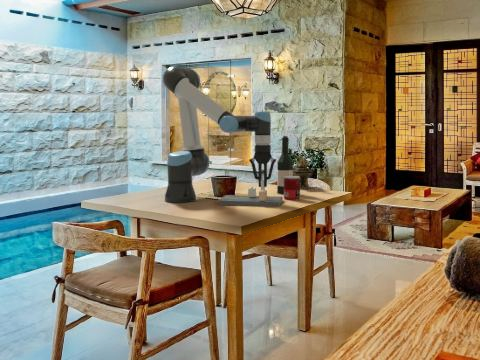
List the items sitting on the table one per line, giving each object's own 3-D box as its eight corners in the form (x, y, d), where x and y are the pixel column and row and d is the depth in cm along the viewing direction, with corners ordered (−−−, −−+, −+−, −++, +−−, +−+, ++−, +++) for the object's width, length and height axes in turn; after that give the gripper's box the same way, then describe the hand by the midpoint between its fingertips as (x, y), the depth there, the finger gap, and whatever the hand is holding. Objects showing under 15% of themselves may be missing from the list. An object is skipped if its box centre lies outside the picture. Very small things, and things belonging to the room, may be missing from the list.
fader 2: (258, 200, 237) (258, 191, 236) (260, 198, 242) (260, 189, 241) (265, 200, 236) (265, 191, 236) (266, 198, 241) (266, 189, 241)
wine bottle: (274, 192, 275) (274, 136, 272) (288, 191, 279) (288, 135, 275) (281, 194, 268) (281, 136, 264) (295, 193, 271) (296, 136, 267)
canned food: (299, 200, 251) (299, 177, 250) (282, 199, 253) (282, 177, 251) (300, 197, 259) (300, 175, 257) (284, 197, 260) (284, 175, 259)
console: (218, 204, 239) (218, 200, 239) (225, 199, 255) (225, 195, 255) (278, 206, 234) (278, 202, 234) (282, 200, 250) (282, 196, 250)
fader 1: (248, 197, 247) (248, 188, 246) (249, 195, 252) (249, 186, 251) (254, 197, 246) (254, 188, 246) (255, 195, 251) (255, 186, 250)
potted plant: (288, 185, 302) (288, 151, 299) (304, 185, 303) (305, 151, 300) (296, 190, 282) (296, 154, 280) (313, 190, 283) (314, 154, 281)
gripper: (247, 144, 242) (248, 194, 245) (275, 144, 240) (275, 195, 243) (250, 143, 250) (250, 192, 253) (277, 143, 247) (277, 192, 250)
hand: (262, 193), depth 248 cm, fingers closed
